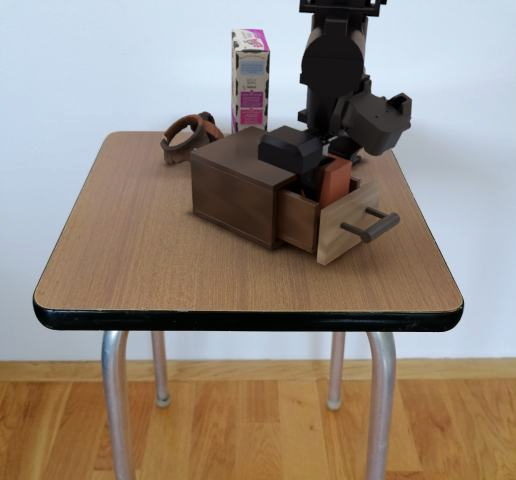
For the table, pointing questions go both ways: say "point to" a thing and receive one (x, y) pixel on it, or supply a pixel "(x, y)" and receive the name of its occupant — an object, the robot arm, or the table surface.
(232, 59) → the candy bar box
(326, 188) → the block
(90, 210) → the table surface
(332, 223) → the drawer
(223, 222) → the cabinet
